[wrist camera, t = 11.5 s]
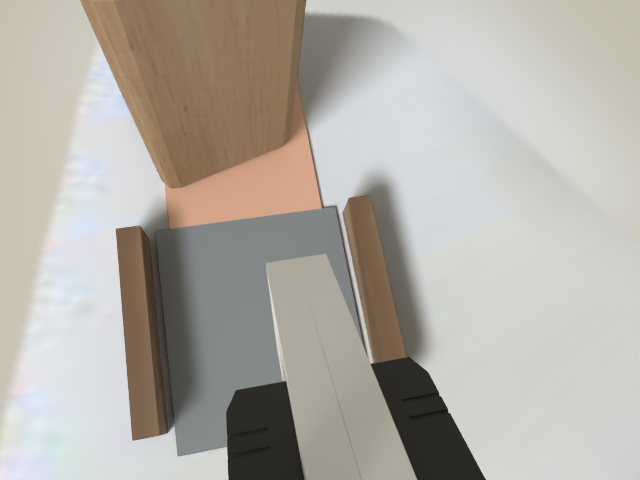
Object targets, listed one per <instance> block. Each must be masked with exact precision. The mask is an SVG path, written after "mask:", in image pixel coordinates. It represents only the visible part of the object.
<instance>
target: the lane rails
mask: <svg viewBox="0 0 640 480" xmlns="http://www.w3.org/2000/svg"><path fill="white" fill-rule="evenodd" d="M343 217H344V222H345V227H346V232H347V237H348V242H349V246H350V251H351V256H352V261H353V266H354V271H355V276H356V280H357V285H358V290H359V295H360V300H361V305H362V309H363V314H364V319H365V324H366V329H367V334H368V339H369V343H370V348H371V353H372V358H373V363H378V362H384V361H389V360H395V359H400V358H406V353H405V349H404V344H403V340H402V336H401V331H400V327H399V322H398V318H397V313H396V309H395V304H394V300H393V295H392V291H391V286H390V282H389V278H388V273H387V269H386V264H385V260H384V255H383V251H382V246H381V242H380V237H379V233H378V228H377V224H376V220H375V215H374V211H373V206H372V202H371V197H370V195H368V196H360V197H352V198H349V199H348V202H347V204H346V206H345V209H344V211H343ZM116 237H117V249H118V262H119V275H120V288H121V300H122V313H123V326H124V338H125V351H126V364H127V377H128V389H129V402H130V415H131V428H132V440H139V439H144V438H149V437H154V436H159V435H162V434H166V433H168V430H167V420H166V410H165V399H164V389H163V379H162V368H161V358H160V347H159V337H158V327H157V316H156V306H155V296H154V285H153V275H152V264H151V254H150V244H149V239H148V237H147V236H146V234H145V233H144V231H143V230H142V228H141V227H140V226H133V227H126V228H118V229H116Z"/></svg>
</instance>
